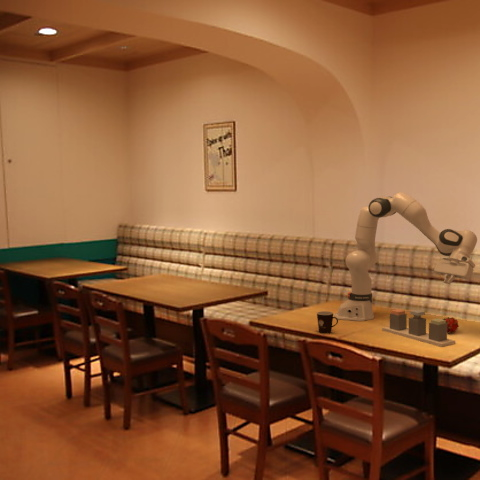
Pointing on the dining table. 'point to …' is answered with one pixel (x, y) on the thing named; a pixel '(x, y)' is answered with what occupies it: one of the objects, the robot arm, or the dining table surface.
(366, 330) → the dining table surface
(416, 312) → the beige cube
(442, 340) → the button console
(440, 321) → the sage button
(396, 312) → the terracotta button
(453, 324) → the dragon fruit
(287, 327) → the dining table surface
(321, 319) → the coffee mug
